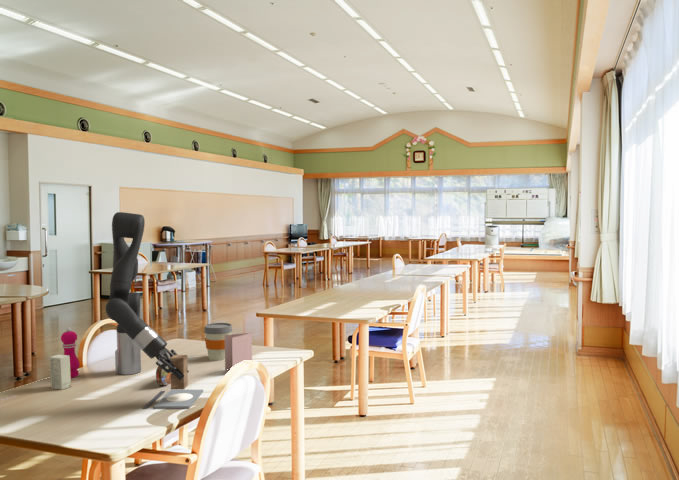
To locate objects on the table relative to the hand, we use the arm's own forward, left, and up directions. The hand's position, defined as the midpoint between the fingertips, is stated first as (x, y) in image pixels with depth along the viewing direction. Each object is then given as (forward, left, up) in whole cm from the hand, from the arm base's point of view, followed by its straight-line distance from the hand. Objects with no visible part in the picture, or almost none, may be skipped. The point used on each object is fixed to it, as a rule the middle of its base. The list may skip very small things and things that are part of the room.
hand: (184, 375), depth 197 cm
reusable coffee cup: (-2, +58, -9) cm, 59 cm away
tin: (-13, +21, -9) cm, 26 cm away
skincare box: (-52, +14, -9) cm, 55 cm away
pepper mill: (-56, +29, -9) cm, 64 cm away
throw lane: (-4, 0, -9) cm, 9 cm away
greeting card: (+12, +37, -9) cm, 40 cm away
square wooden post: (-2, 0, -4) cm, 5 cm away
